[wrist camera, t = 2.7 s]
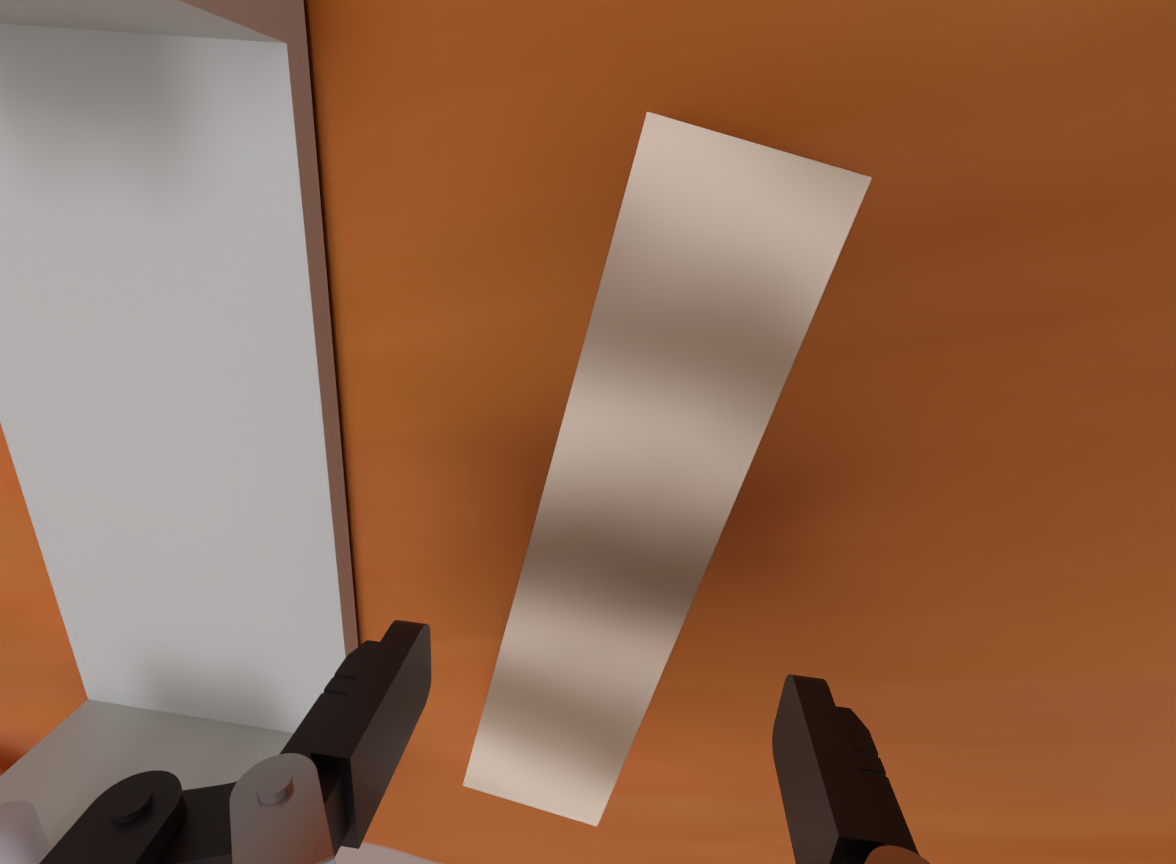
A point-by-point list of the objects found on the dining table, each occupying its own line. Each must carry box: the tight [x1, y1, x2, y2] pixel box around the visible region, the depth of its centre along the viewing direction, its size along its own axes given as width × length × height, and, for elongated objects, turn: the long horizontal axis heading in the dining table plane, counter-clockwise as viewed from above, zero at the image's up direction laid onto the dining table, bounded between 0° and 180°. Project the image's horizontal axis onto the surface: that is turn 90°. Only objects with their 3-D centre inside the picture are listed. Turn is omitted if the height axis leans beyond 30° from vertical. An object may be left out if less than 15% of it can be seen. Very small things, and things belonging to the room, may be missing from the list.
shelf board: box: [463, 112, 872, 826], centre depth 19 cm, size 22×5×4 cm, turn 165°
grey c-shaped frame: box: [0, 0, 358, 864], centre depth 16 cm, size 28×12×12 cm, turn 175°
